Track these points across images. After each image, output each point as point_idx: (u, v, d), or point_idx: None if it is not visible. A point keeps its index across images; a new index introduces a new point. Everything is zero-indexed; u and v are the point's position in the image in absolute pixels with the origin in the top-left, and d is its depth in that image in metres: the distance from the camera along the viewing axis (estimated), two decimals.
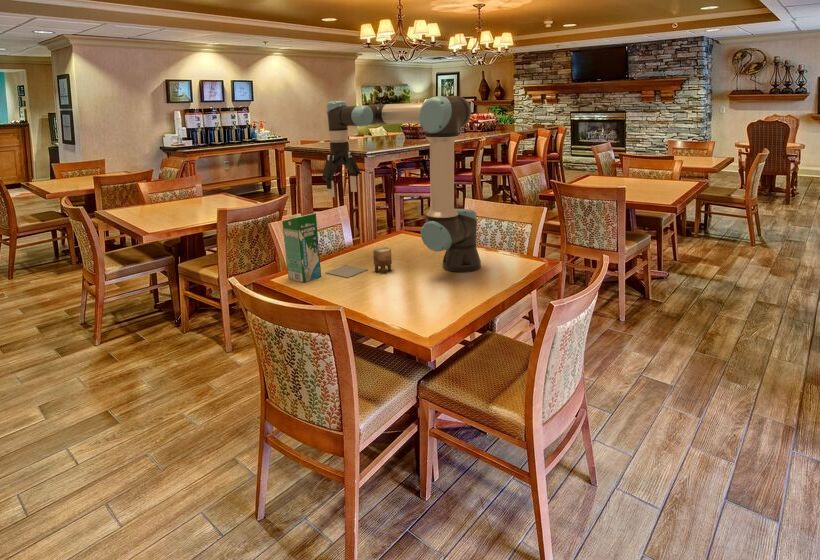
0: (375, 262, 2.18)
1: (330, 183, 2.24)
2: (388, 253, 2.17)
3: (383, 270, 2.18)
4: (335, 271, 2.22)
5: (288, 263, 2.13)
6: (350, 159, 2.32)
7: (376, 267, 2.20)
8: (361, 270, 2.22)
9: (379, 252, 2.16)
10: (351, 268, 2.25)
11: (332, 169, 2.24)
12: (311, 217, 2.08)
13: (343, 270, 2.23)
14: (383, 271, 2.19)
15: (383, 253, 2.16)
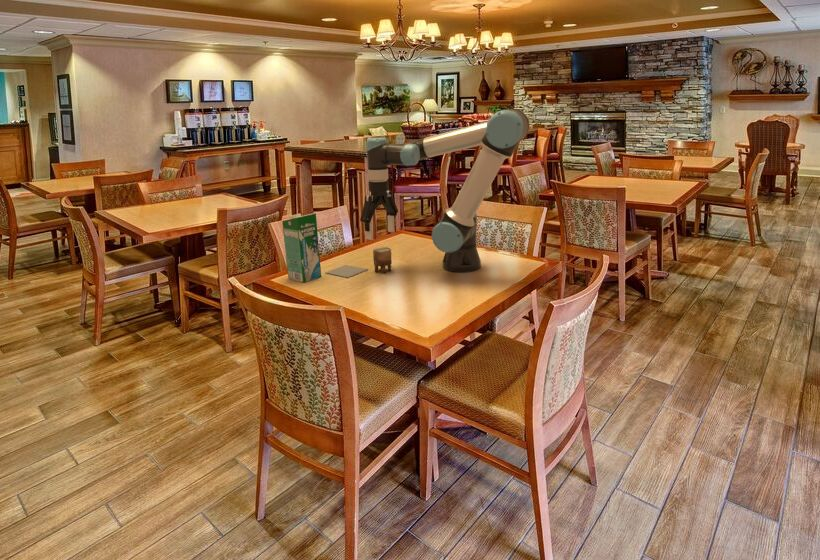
0: (375, 262, 2.18)
1: (368, 225, 2.09)
2: (388, 253, 2.17)
3: (383, 270, 2.18)
4: (335, 271, 2.22)
5: (288, 263, 2.13)
6: (388, 198, 2.18)
7: (376, 267, 2.20)
8: (361, 270, 2.22)
9: (379, 252, 2.16)
10: (351, 268, 2.25)
11: (371, 210, 2.10)
12: (311, 217, 2.08)
13: (343, 270, 2.23)
14: (383, 271, 2.19)
15: (383, 253, 2.16)
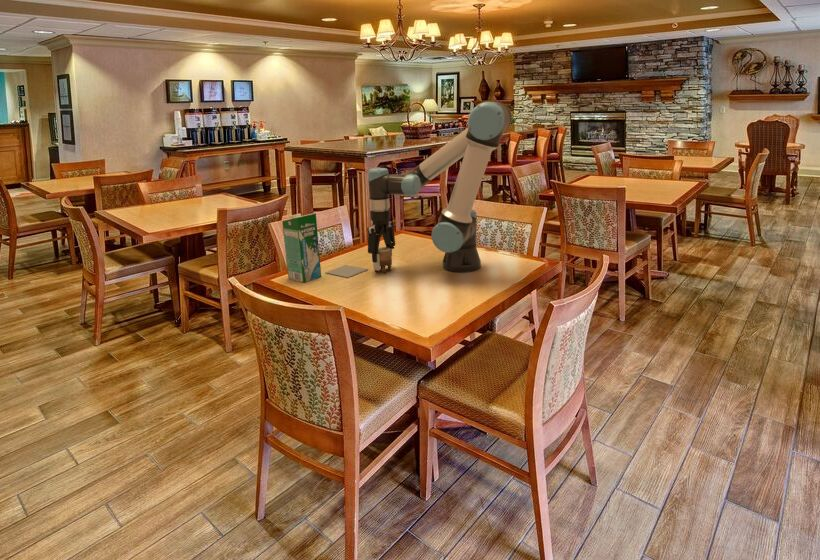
0: None
1: (376, 256, 2.16)
2: (388, 253, 2.17)
3: (383, 270, 2.18)
4: (335, 271, 2.22)
5: (288, 263, 2.13)
6: (389, 229, 2.21)
7: None
8: (361, 270, 2.22)
9: (379, 252, 2.16)
10: (351, 268, 2.25)
11: (376, 241, 2.15)
12: (311, 217, 2.08)
13: (343, 270, 2.23)
14: (383, 271, 2.19)
15: (383, 253, 2.16)
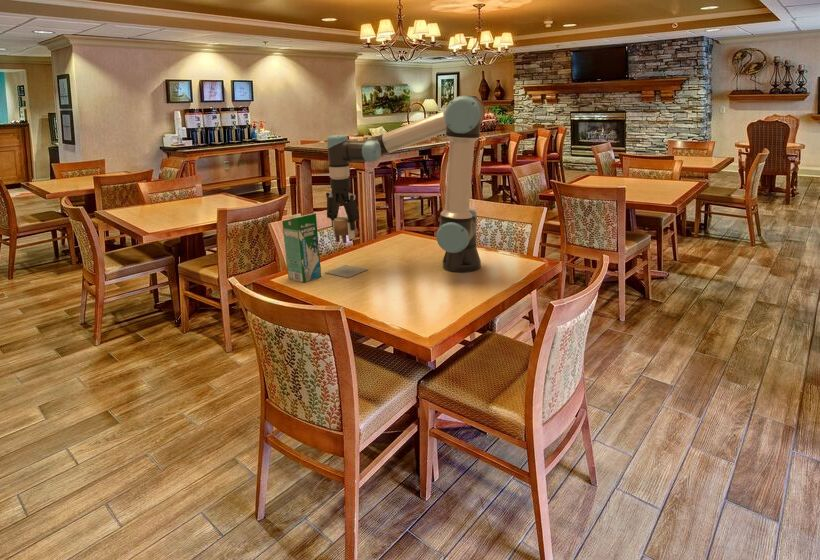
0: None
1: (332, 222, 2.18)
2: (336, 223, 2.14)
3: None
4: (335, 271, 2.22)
5: (288, 263, 2.13)
6: None
7: None
8: (361, 270, 2.22)
9: None
10: (351, 268, 2.25)
11: None
12: (311, 217, 2.08)
13: (343, 270, 2.23)
14: None
15: None
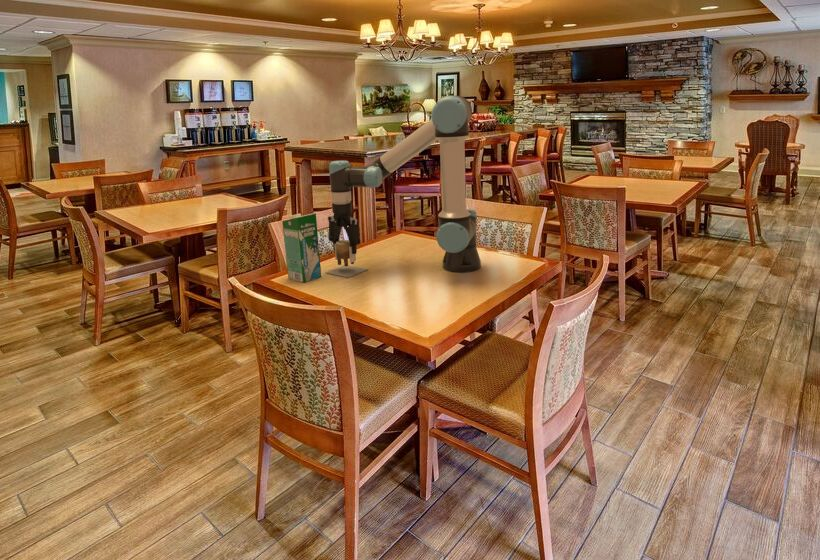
0: None
1: (334, 245, 2.21)
2: (338, 246, 2.17)
3: None
4: (335, 271, 2.22)
5: (288, 263, 2.13)
6: None
7: None
8: (361, 270, 2.22)
9: None
10: (351, 268, 2.25)
11: None
12: (311, 217, 2.08)
13: (343, 270, 2.23)
14: None
15: None
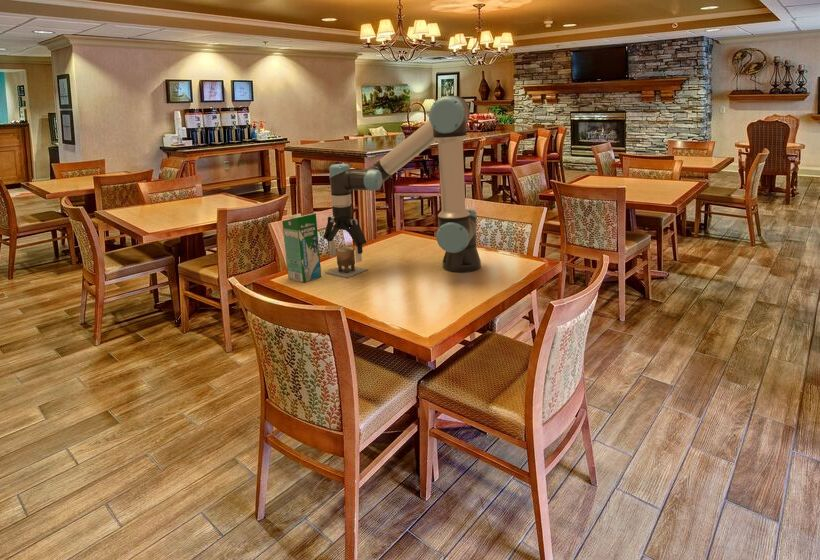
0: None
1: (329, 243, 2.23)
2: (338, 253, 2.18)
3: None
4: (335, 271, 2.22)
5: (288, 263, 2.13)
6: None
7: None
8: (361, 270, 2.22)
9: None
10: None
11: None
12: (311, 217, 2.08)
13: (343, 270, 2.23)
14: None
15: (336, 251, 2.19)
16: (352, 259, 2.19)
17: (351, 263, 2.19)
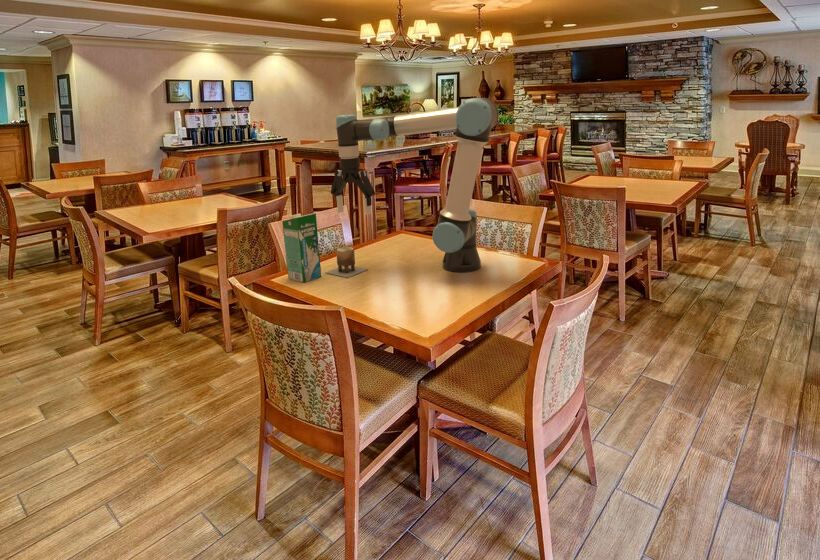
0: None
1: (336, 198, 2.19)
2: (338, 253, 2.18)
3: None
4: (335, 271, 2.22)
5: (288, 263, 2.13)
6: None
7: None
8: (361, 270, 2.22)
9: None
10: None
11: None
12: (311, 217, 2.08)
13: (343, 270, 2.23)
14: None
15: (336, 251, 2.19)
16: (352, 259, 2.19)
17: (351, 263, 2.19)
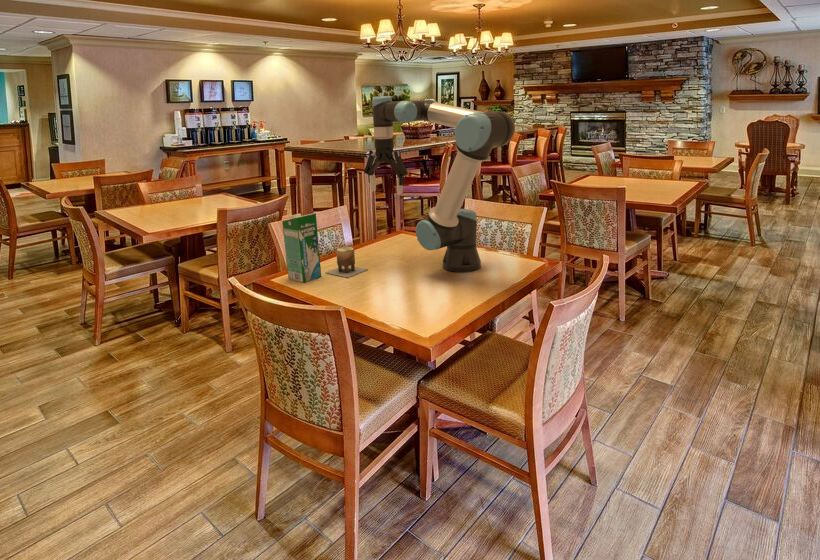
0: None
1: (369, 177, 2.27)
2: (338, 253, 2.18)
3: None
4: (335, 271, 2.22)
5: (288, 263, 2.13)
6: None
7: None
8: (361, 270, 2.22)
9: None
10: None
11: None
12: (311, 217, 2.08)
13: (343, 270, 2.23)
14: None
15: (336, 251, 2.19)
16: (352, 259, 2.19)
17: (351, 263, 2.19)
